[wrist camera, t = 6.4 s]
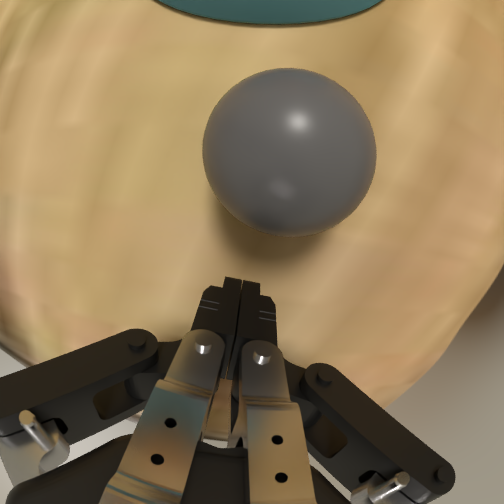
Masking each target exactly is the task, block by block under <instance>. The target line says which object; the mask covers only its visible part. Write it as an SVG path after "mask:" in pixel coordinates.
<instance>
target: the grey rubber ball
mask: <svg viewBox="0 0 504 504" xmlns="http://www.w3.org/2000/svg"><path fill="white" fill-rule="evenodd" d="M203 163H204V168H205V173H206V176H207V179H208V181H209V184H210V186H211V188H212V190H213V192H214V194H215V195H216V197H217V198H218V200H219V201H220V202H221V204H222V205H223V206H224V207H225V208H226V209H227V210H228V211H229V212H230V213H231V214H232V215H233V216H234V217H235V218H237V219H238V220H239V221H241V222H242V223H244V224H246V225H247V226H249V227H251V228H253V229H256V230H258V231H261V232H264V233H267V234H271V235H275V236H282V237H302V236H309V235H313V234H316V233H320V232H322V231H325V230H327V229H330V228H332V227H334V226H335V225H337V224H339V223H340V222H341V221H343V220H344V219H345V218H347V217H348V216H349V215H350V214H351V213H352V212H353V211H354V210H355V209H356V208H357V207H358V206H359V204H360V203H361V201H362V200H363V199H364V197H365V196H366V194H367V192H368V190H369V187H370V185H371V183H372V180H373V176H374V173H375V166H376V143H375V138H374V133H373V129H372V127H371V124H370V121H369V119H368V117H367V116H366V114H365V112H364V110H363V108H362V107H361V106H360V104H359V103H358V102H357V100H356V99H355V98H354V97H353V96H352V95H351V94H350V93H349V92H348V91H347V90H346V89H344V88H343V87H342V86H340V85H339V84H338V83H336V82H335V81H333V80H331V79H329V78H328V77H326V76H323V75H321V74H318V73H316V72H312V71H308V70H304V69H296V68H278V69H272V70H266V71H263V72H260V73H257V74H254V75H252V76H250V77H248V78H246V79H244V80H242V81H241V82H239V83H238V84H236V85H235V86H234V87H232V88H231V89H230V90H229V91H228V92H227V93H226V94H225V95H224V96H223V97H222V98H221V100H220V101H219V102H218V104H217V105H216V106H215V108H214V109H213V111H212V113H211V115H210V117H209V120H208V123H207V126H206V129H205V132H204V138H203Z"/></svg>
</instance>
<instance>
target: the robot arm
mask: <svg viewBox="0 0 504 504" xmlns="http://www.w3.org/2000/svg"><path fill="white" fill-rule="evenodd" d="M241 284H242V288H241ZM228 362H229V364H228ZM227 367H228V371H227ZM226 371H227V379H229V380H232V388H231V392H230V395H229V432H228V445H227V448H217V447H214V446H212V445H209V444H207V443H204V442H203V438H204V434H205V430H206V427H207V423H208V419H209V415H210V412H211V408H212V404H213V400H214V397H215V393H216V391H217V390H218V387H219V382H220V378H223V379H225V375H226ZM142 410H144V411H143V413H142V415H141V417H140V419H139V422H138V424H137V426H136V428H135V431H134V433H133V434H128V435H124V436H120V437H118V438H115V439H113V440H111V441H109V442H107V443H105V444H103V445H102V446H100V447H98V448H96V449H94V450H92V451H91V452H88V453H86V454H84V455H82V456H80V457H78V458H76V459H74V460H72V461H70V462H68V463H66V464H64V465H62V466H59V465H60V464H62V463H63V462H65V461H66V459H67V458H68V456H69V452H70V447H69V445H72V444H74V443H76V442H78V441H80V440H83V439H85V438H87V437H89V436H92V435H94V434H96V433H98V432H100V431H102V430H104V429H106V428H108V427H110V426H112V425H114V424H116V423H118V422H120V421H122V420H124V419H126V418H128V417H130V416H132V415H134V414H136V413H138V412H140V411H142ZM307 451H308V452H309V453H310V454H311V455H312V456H313V457H314V458H315V459H316V460H317V461H318V462H319V463H320V464H321V465H322V466H323V467H324V468H325V469H326V470H327V471H328V472H329V473H330V474H331V475H332V476H333V477H335V478H336V479H337V480H338V481H339V482H340V483H341V484H342V485H343V486H344V487H346V488H347V489H348V490H349V491H350V492H351V493H352V494H351V499H350V500H351V501H349V500H347V499H346V498H345V497H344V496H343V495H342V494H341V493H340V492H339V491H338V490H337V489H336V488H335V487H334V486H333V485H332V484H331V483H330V482H329V481H328V480H327V479H326V478H325V477H324V476H323V475H322V474H321V473H320V472H319V471H318V470H316V469H315V468H314V467H313V466H311V465H310V464H309V458H308V452H307ZM0 456H1V459H2V462H3V464H4V467H5V469H6V471H7V473H8V476H9V478H10V480H11V482H12V484H13V486H14V488H13V489H12V490H11V491H10V492H9V494H8V496H7V500H6V504H427V503H429V502H431V501H433V500H435V499H436V498H438V497H440V496H442V495H444V494H446V493H447V492H449V491H450V490H451V489H452V487H453V485H454V483H455V471H454V469H453V467H452V466H451V464H450V463H449V462H447V461H446V460H445V459H444V458H442V457H441V456H440V455H438V454H437V453H436V452H435V451H433V450H432V449H431V448H430V447H428V446H427V445H426V444H424V443H423V442H422V441H421V440H420V439H419V438H417V437H416V436H415V435H414V434H412V433H411V432H410V431H409V430H407V429H406V428H405V427H404V426H403V425H401V424H400V423H399V422H398V421H396V420H395V419H394V418H393V417H392V416H390V415H389V414H388V413H387V412H386V411H385V410H383V409H382V408H381V407H380V406H379V405H378V404H376V403H375V402H374V401H373V400H372V399H371V398H369V397H368V396H367V395H366V394H365V393H364V392H362V391H361V390H360V389H359V388H358V387H357V386H355V385H354V384H353V383H352V382H351V381H350V380H349V379H347V378H346V377H345V376H344V375H343V374H342V373H341V372H339V371H338V370H337V369H336V368H334V367H333V366H331V365H328V364H325V363H315V364H312V365H310V366H308V368H307V369H304V368H302V367H299V366H296V365H294V364H292V363H290V362H288V361H287V360H285V359H284V358H283V355H282V352H281V351H280V349H279V348H278V346H277V326H276V307H275V304H274V302H273V300H272V299H271V297H268V296H263V295H260V283H256V282H251V281H246V280H243V283H242V280H241V279H235V278H230V277H226V276H225V280H224V284H223V288H221V287H216V286H212V285H211V286H209V287H208V288H207V289H206V290H204V292H203V295H202V298H201V301H200V304H199V307H198V310H197V313H196V316H195V319H194V322H193V325H192V328H191V331H190V332H188V333H187V334H186V335H185V336H184V337H183V339H181V340H178V341H174V342H158V341H157V339H156V337H155V336H154V335H153V334H152V333H150V332H148V331H146V330H143V329H129V330H126V331H124V332H121V333H118V334H116V335H113V336H111V337H108V338H106V339H103V340H101V341H98V342H95V343H93V344H90V345H88V346H85V347H83V348H80V349H77V350H75V351H72V352H69V353H67V354H64V355H61V356H59V357H56V358H53V359H51V360H48V361H45V362H42V363H40V364H37V365H34V366H31V367H29V368H26V369H23V370H20V371H17V372H15V373H12V374H9V375H6V376H4V377H1V378H0ZM58 466H59V467H58Z"/></svg>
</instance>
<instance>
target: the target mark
mask: <svg viewBox="0 0 504 504" xmlns="http://www.w3.org/2000/svg"><path fill="white" fill-rule="evenodd" d="M159 1H160V2H162V3H164V4H166V5H168V6H171V7H173V8H175V9H177V10H180V11H184V12H187V13H190V14H193V15H197V16H202V17H207V18H211V19H216V20H224V21H230V22H240V23H252V24H301V23H310V22H320V21H326V20H331V19H337V18H341V17H345V16H348V15H352V14H356V13H358V12H360V11H363V10H365V9H368V8H370V7H372V6H373V5H375V4H377V3H378V2H380V1H381V0H159Z"/></svg>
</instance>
